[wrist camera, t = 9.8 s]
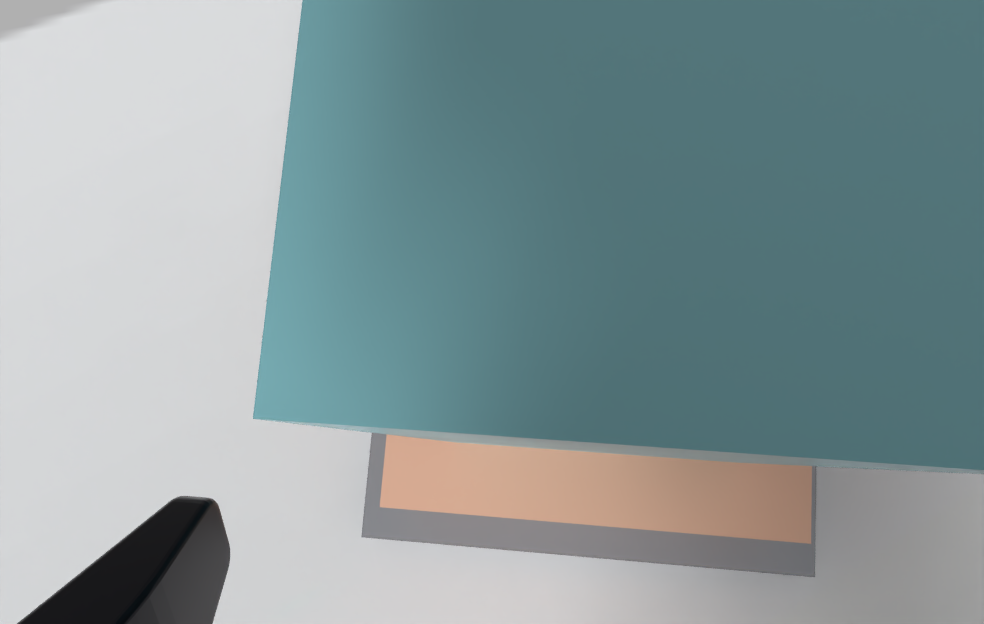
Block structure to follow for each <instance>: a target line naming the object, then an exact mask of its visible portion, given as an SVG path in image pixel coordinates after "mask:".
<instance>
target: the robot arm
mask: <svg viewBox="0 0 984 624" xmlns="http://www.w3.org/2000/svg"><path fill="white" fill-rule="evenodd" d="M229 562H230V546H229V542H228V538H227V534H226V531H225V527H224V524H223V520H222V516H221V513H220V509H219V506H218V504H217V503H216V502H215V501H214V500H213V499H211V498H204V497H192V496H180V497H177V498H175V499H173V500H171V501H170V502H169V503H167V504H166V505H165V506H164V507H162V508H161V509H160V510H159V511H157V512H156V513H155V514H154V515H152V516H151V517H150V518H149V519H147V520H146V521H145V522H144V523H142V524H141V525H140V526H139V527H137V528H136V529H135V530H134V531H132V532H131V533H130V534H129V535H127V536H126V537H125V538H124V539H122V540H121V541H120V542H119V543H117V544H116V545H115V546H114V547H112V548H111V549H110V550H109V551H107V552H106V553H105V554H104V555H102V556H101V557H100V558H99V559H97V560H96V561H95V562H94V563H92V564H91V565H90V566H89V567H87V568H86V569H85V570H83V571H82V572H81V573H80V574H78V575H77V576H76V577H75V578H73V579H72V580H71V581H70V582H68V583H67V584H66V585H65V586H63V587H62V588H61V589H60V590H58V591H57V592H56V593H55V594H53V595H52V596H51V597H50V598H48V599H47V600H46V601H45V602H43V603H42V604H41V605H40V606H38V607H37V608H36V609H35V610H33V611H32V612H31V613H30V614H28V615H27V616H26V617H25V618H23V619H22V620H21V621H20V622H18V623H17V624H212V623H213V620H214V616H215V613H216V609H217V606H218V603H219V599H220V596H221V592H222V589H223V585H224V582H225V578H226V575H227V571H228V567H229Z"/></svg>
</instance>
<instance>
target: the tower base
mask: <svg viewBox="0 0 984 624" xmlns="http://www.w3.org/2000/svg"><path fill="white" fill-rule="evenodd" d="M815 519H816V466H799V465H778V464H756V463H736V462H722V461H708V460H694V459H680V458H666V457H652V456H638V455H624V454H610V453H596V452H582V451H568V450H555V449H541V448H527V447H513V446H499V445H485V444H471V443H457V442H447V441H439V440H430V439H422V438H413V437H405V436H396V435H388V434H379V433H372V437H371V447H370V457H369V467H368V477H367V487H366V497H365V507H364V517H363V527H362V537H366V538H377V539H388V540H400V541H411V542H422V543H434V544H445V545H456V546H468V547H479V548H490V549H502V550H513V551H524V552H535V553H547V554H558V555H569V556H581V557H592V558H603V559H615V560H626V561H637V562H649V563H660V564H671V565H683V566H694V567H705V568H717V569H728V570H739V571H751V572H762V573H773V574H785V575H796V576H807V577H815Z"/></svg>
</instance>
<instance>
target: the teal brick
mask: <svg viewBox="0 0 984 624" xmlns="http://www.w3.org/2000/svg"><path fill="white" fill-rule="evenodd" d="M253 419H260V420H269V421H277V422H286V423H294V424H303V425H311V426H320V427H328V428H337V429H345V430H354V431H362V432H371V433H379V434H388V435H396V436H405V437H413V438H422V439H430V440H439V441H447V442H457V443H471V444H485V445H499V446H513V447H527V448H541V449H555V450H568V451H582V452H596V453H610V454H624V455H638V456H652V457H666V458H680V459H694V460H708V461H722V462H736V463H756V464H778V465H799V466H820V467H842V468H863V469H885V470H906V471H927V472H949V473H970V474H984V0H303V2H302V10H301V19H300V27H299V35H298V44H297V52H296V61H295V69H294V78H293V86H292V94H291V103H290V111H289V120H288V128H287V137H286V145H285V153H284V162H283V170H282V179H281V187H280V195H279V204H278V212H277V221H276V229H275V238H274V246H273V254H272V263H271V271H270V280H269V288H268V296H267V305H266V313H265V322H264V330H263V339H262V347H261V355H260V364H259V372H258V381H257V389H256V398H255V406H254V414H253Z"/></svg>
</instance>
